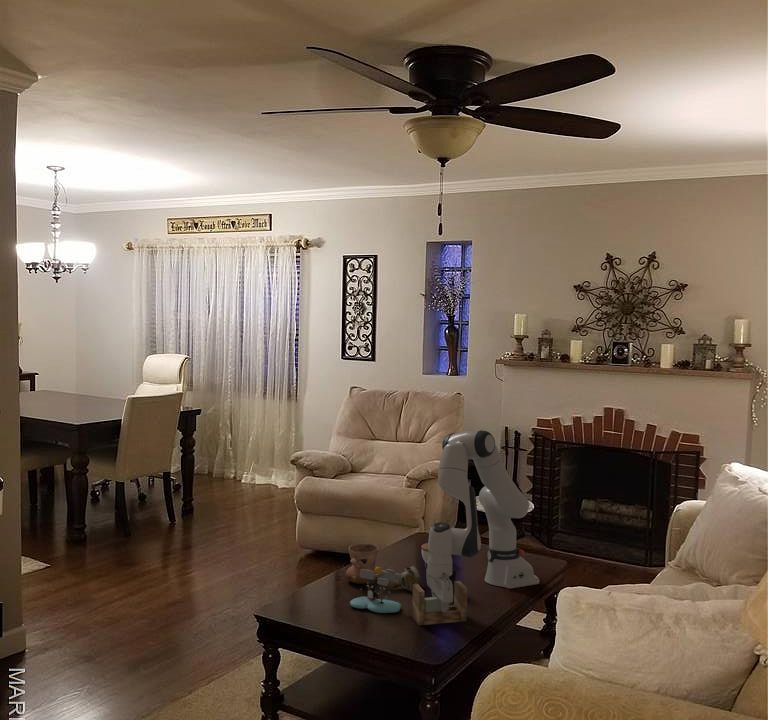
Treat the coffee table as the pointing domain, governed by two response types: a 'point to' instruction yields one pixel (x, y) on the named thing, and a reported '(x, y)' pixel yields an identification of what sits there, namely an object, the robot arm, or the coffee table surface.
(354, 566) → the ceramic jug
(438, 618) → the wooden stand
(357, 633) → the coffee table surface
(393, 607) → the penguin figurine
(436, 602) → the door panel
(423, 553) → the lidded jar
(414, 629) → the coffee table surface
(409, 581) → the ceramic sculpture
